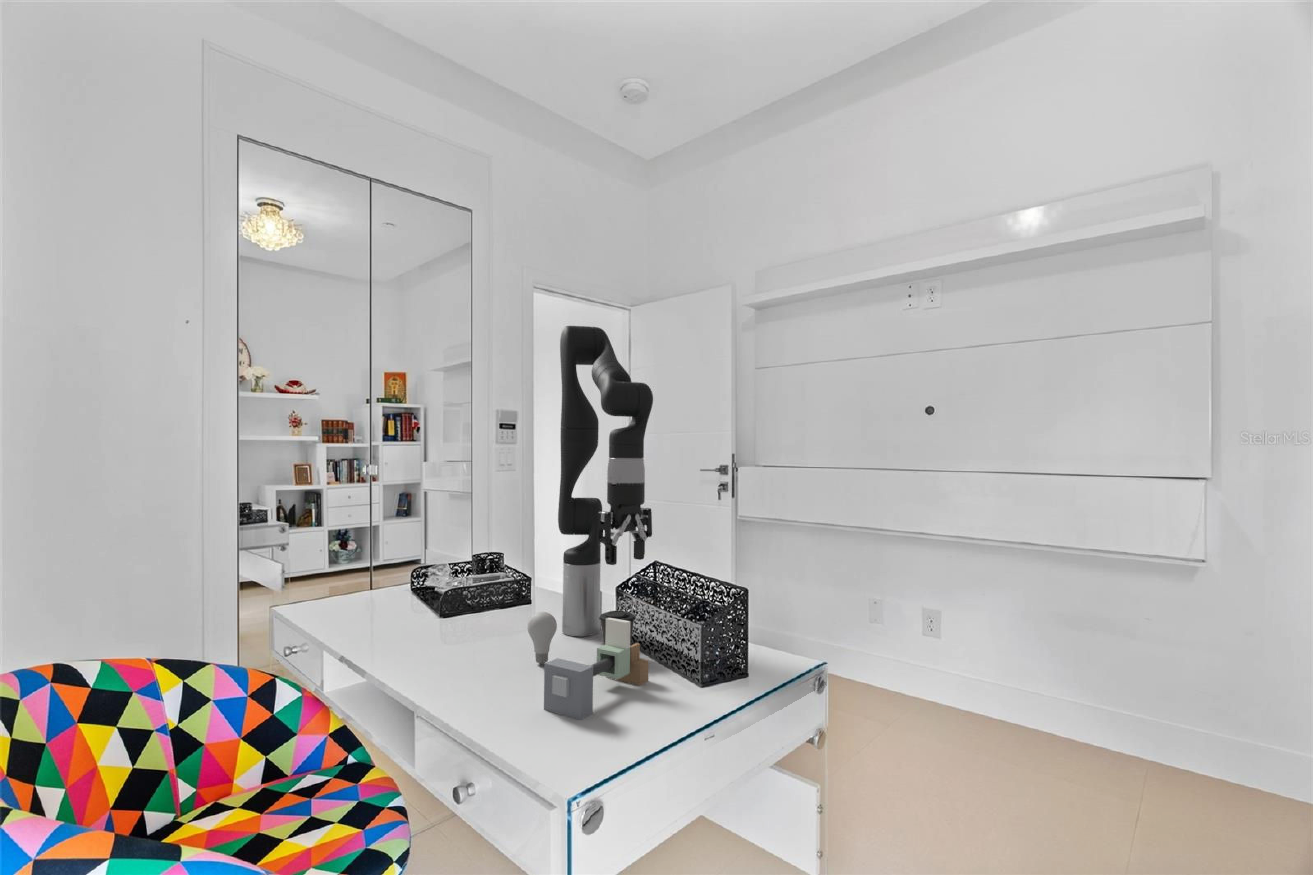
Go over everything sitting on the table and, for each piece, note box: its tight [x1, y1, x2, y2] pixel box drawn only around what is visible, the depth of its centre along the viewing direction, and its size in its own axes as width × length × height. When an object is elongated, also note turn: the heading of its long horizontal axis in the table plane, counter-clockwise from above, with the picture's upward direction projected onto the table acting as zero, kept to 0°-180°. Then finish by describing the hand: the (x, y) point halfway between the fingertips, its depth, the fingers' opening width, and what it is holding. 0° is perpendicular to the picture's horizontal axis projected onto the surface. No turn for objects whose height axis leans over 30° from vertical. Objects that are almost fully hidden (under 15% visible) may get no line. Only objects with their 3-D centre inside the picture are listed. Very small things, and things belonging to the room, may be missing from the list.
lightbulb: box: [527, 611, 558, 665], centre depth 140 cm, size 6×6×11 cm
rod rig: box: [543, 642, 650, 720], centre depth 123 cm, size 23×8×8 cm, turn 149°
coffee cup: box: [599, 610, 637, 646], centre depth 144 cm, size 8×8×10 cm
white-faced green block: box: [596, 618, 631, 680], centre depth 127 cm, size 4×5×10 cm
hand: (625, 561), depth 132 cm, fingers open, 8 cm apart
